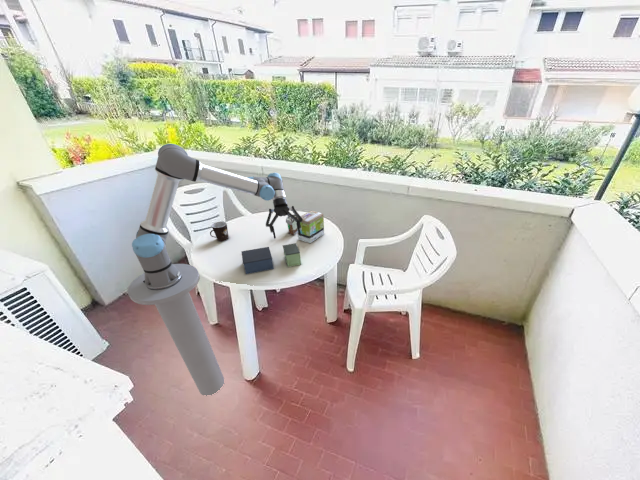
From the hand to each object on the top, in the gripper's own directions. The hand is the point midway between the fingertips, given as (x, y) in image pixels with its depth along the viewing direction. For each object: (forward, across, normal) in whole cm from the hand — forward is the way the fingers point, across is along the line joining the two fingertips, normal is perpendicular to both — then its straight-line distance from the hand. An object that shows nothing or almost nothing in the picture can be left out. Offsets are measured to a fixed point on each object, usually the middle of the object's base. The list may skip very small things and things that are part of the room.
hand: (287, 235), depth 155 cm
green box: (+14, 0, -4) cm, 14 cm away
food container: (-12, -7, -30) cm, 33 cm away
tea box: (-3, -17, -21) cm, 27 cm away
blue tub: (+12, +18, -5) cm, 22 cm away
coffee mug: (-14, +37, -32) cm, 51 cm away
